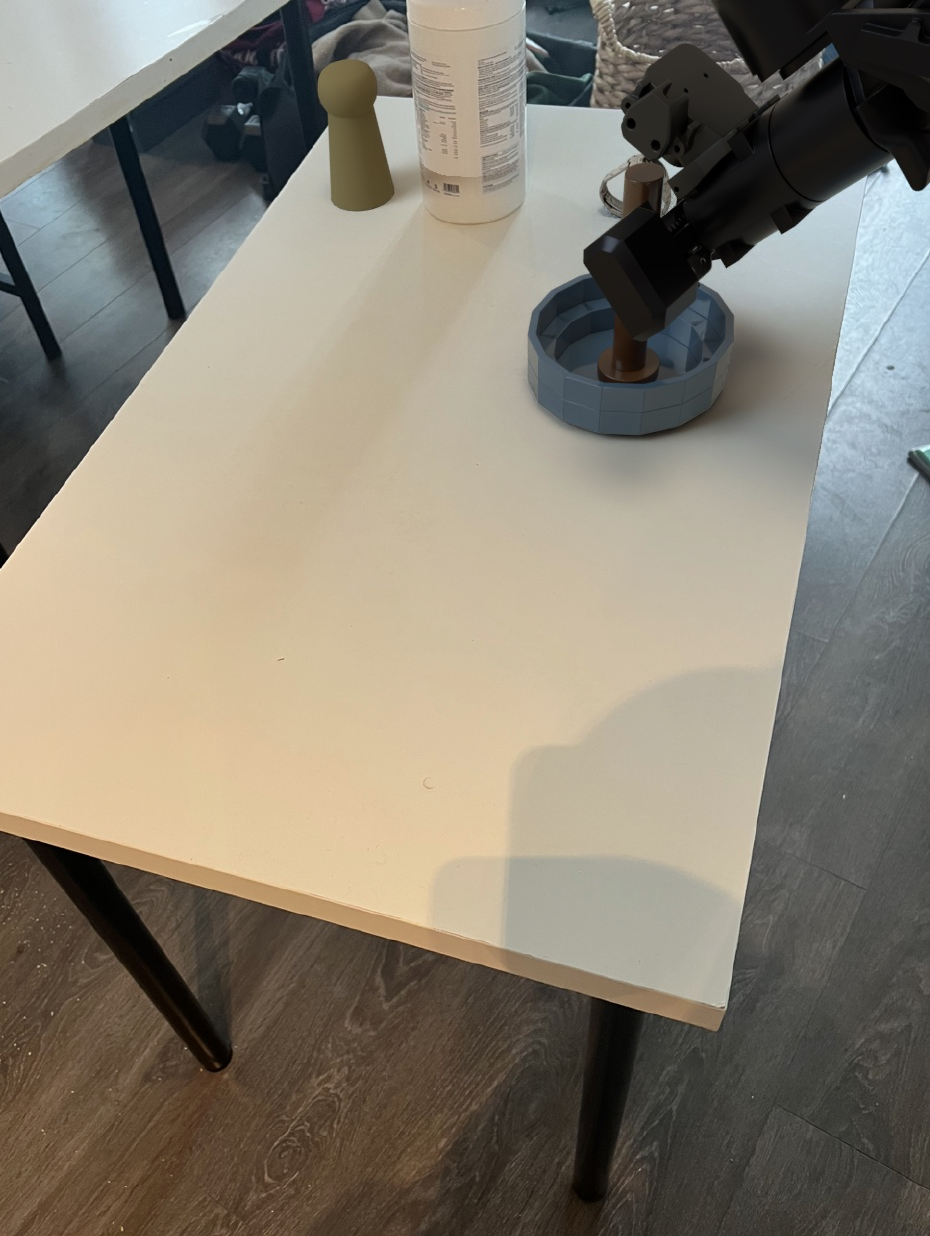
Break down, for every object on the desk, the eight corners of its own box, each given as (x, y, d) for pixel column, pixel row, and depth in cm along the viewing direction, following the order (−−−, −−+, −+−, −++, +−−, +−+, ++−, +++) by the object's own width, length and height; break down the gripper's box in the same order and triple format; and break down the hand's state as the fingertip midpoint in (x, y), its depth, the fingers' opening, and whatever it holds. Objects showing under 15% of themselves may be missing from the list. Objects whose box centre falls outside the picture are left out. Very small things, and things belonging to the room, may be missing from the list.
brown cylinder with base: (671, 371, 70) (697, 168, 59) (629, 400, 69) (648, 198, 57) (625, 347, 73) (641, 146, 61) (584, 375, 71) (592, 175, 60)
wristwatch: (662, 230, 83) (669, 171, 79) (593, 220, 85) (596, 162, 81) (674, 209, 85) (681, 150, 81) (606, 199, 87) (610, 141, 83)
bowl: (682, 305, 77) (689, 251, 73) (755, 416, 69) (768, 362, 65) (507, 342, 76) (506, 290, 73) (560, 459, 68) (562, 407, 64)
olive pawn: (320, 190, 93) (298, 64, 84) (377, 170, 94) (360, 43, 85) (347, 218, 90) (326, 89, 81) (405, 196, 91) (391, 67, 82)
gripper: (818, -58, 53) (632, 111, 67) (623, 82, 46) (460, 239, 60) (914, 125, 56) (716, 251, 70) (745, 284, 49) (562, 389, 63)
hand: (618, 278), depth 66 cm, fingers closed on brown cylinder with base, 2 cm apart
